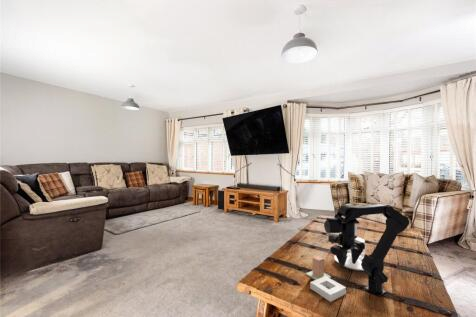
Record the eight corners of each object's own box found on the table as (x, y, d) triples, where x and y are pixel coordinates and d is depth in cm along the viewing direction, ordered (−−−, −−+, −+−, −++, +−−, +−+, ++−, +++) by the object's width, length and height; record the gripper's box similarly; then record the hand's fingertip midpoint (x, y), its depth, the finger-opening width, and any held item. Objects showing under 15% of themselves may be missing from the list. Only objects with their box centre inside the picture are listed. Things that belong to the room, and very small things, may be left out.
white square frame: (325, 281, 106) (325, 275, 106) (345, 293, 96) (345, 287, 96) (310, 288, 100) (310, 282, 100) (330, 301, 91) (330, 294, 91)
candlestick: (384, 266, 122) (384, 218, 122) (363, 279, 108) (363, 225, 108) (348, 253, 139) (348, 211, 139) (327, 263, 125) (327, 216, 125)
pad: (316, 269, 117) (316, 269, 117) (331, 277, 109) (331, 276, 109) (305, 274, 113) (305, 273, 113) (319, 282, 105) (319, 281, 105)
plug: (317, 272, 114) (317, 255, 114) (323, 275, 110) (323, 258, 110) (312, 274, 112) (312, 257, 112) (318, 277, 108) (318, 260, 108)
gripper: (343, 225, 110) (343, 254, 110) (320, 230, 100) (320, 263, 100) (365, 231, 100) (365, 263, 100) (341, 238, 91) (341, 274, 91)
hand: (348, 265), depth 98 cm, fingers open, 9 cm apart
